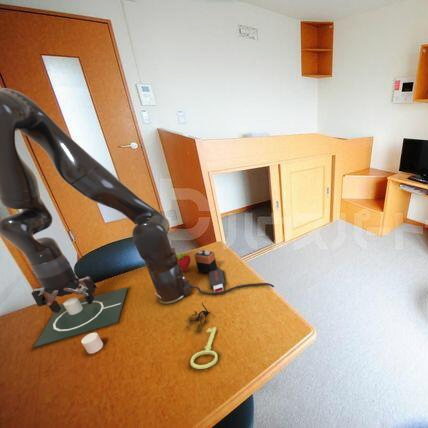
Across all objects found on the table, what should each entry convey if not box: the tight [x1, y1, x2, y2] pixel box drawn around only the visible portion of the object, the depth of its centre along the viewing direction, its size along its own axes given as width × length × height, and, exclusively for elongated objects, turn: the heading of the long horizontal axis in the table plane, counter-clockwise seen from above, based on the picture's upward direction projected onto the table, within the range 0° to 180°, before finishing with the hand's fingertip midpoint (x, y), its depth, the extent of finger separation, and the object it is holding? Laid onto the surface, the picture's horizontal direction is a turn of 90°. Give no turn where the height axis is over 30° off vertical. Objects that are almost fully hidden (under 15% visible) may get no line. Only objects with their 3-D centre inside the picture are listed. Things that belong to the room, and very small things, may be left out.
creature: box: [185, 301, 210, 333], centre depth 79 cm, size 8×5×8 cm
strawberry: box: [176, 251, 191, 272], centre depth 102 cm, size 6×8×10 cm
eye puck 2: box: [80, 332, 104, 355], centre depth 70 cm, size 4×4×4 cm
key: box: [189, 326, 219, 370], centre depth 71 cm, size 7×12×2 cm, turn 23°
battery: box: [194, 249, 218, 275], centre depth 102 cm, size 4×7×10 cm, turn 78°
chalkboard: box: [33, 287, 129, 349], centre depth 82 cm, size 20×18×1 cm
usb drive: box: [208, 268, 226, 293], centre depth 97 cm, size 5×12×3 cm, turn 27°
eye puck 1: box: [62, 296, 83, 315], centre depth 82 cm, size 4×4×4 cm
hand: (75, 306), depth 82 cm, fingers open, 8 cm apart
